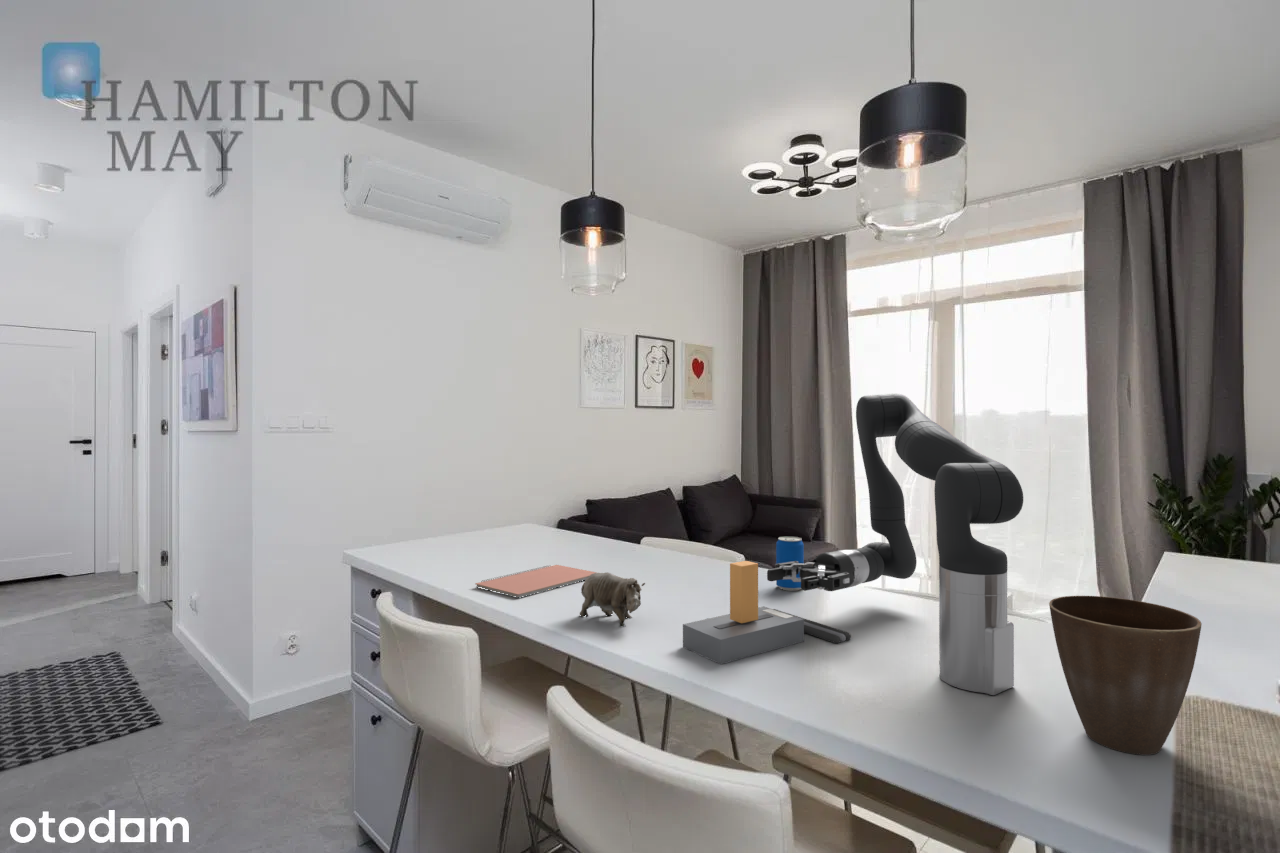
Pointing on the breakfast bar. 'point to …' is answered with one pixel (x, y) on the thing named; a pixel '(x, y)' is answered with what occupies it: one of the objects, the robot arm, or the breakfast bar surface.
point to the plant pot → (1125, 667)
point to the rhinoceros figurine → (611, 595)
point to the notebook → (535, 580)
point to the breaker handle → (743, 591)
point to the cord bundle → (824, 631)
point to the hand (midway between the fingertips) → (785, 580)
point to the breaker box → (742, 635)
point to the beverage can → (789, 559)
